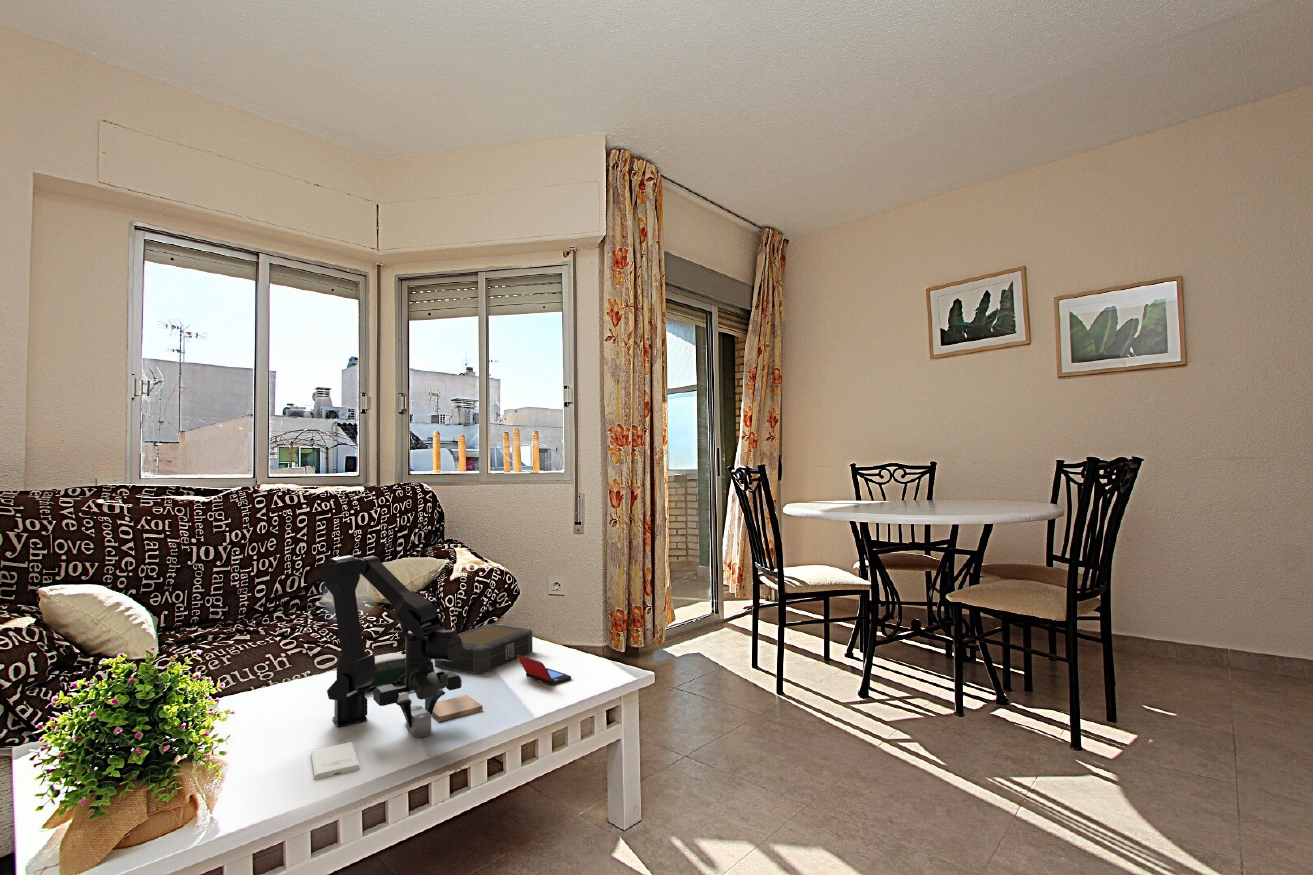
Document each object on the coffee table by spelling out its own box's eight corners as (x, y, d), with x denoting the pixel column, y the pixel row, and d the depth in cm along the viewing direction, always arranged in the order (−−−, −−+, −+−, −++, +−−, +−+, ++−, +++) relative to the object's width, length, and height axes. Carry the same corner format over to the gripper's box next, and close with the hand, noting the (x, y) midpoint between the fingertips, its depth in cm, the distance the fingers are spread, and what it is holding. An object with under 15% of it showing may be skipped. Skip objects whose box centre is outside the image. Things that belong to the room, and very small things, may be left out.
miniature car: (341, 688, 182) (341, 659, 183) (407, 674, 194) (407, 647, 194) (348, 697, 175) (348, 667, 176) (417, 682, 186) (417, 654, 187)
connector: (417, 738, 148) (417, 720, 148) (401, 721, 157) (401, 704, 157) (433, 734, 150) (433, 716, 150) (416, 717, 160) (416, 701, 160)
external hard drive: (352, 748, 145) (359, 771, 134) (310, 758, 140) (314, 782, 130) (352, 741, 145) (359, 763, 134) (310, 750, 140) (314, 773, 130)
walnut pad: (439, 721, 158) (439, 716, 158) (425, 709, 166) (425, 704, 166) (482, 710, 164) (482, 705, 164) (467, 699, 172) (467, 694, 172)
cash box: (483, 676, 192) (483, 649, 192) (432, 667, 201) (432, 641, 201) (536, 653, 214) (536, 629, 214) (487, 645, 223) (487, 622, 223)
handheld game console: (573, 680, 187) (572, 654, 187) (542, 690, 179) (541, 662, 179) (546, 671, 196) (546, 645, 196) (515, 680, 188) (515, 653, 188)
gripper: (386, 674, 141) (386, 747, 141) (470, 657, 153) (470, 725, 152) (372, 662, 150) (372, 731, 149) (452, 646, 161) (453, 711, 161)
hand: (418, 724), depth 153 cm, fingers closed on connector, 4 cm apart
